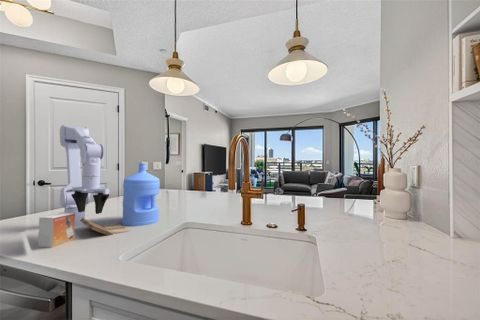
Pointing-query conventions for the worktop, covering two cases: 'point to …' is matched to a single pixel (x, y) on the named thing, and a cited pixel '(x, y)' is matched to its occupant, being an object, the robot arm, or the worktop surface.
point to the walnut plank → (96, 227)
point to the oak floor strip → (116, 228)
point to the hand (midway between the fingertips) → (90, 212)
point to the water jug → (140, 198)
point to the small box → (56, 229)
